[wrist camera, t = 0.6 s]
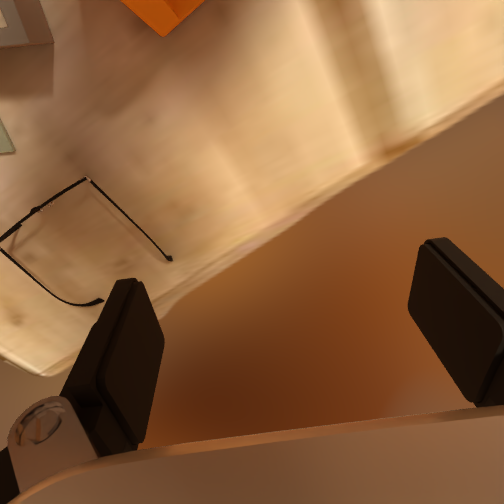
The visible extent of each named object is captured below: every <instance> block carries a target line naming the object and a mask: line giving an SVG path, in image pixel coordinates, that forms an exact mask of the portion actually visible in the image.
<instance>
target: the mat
mask: <svg viewBox="0 0 504 504" xmlns="http://www.w3.org/2000/svg"><path fill="white" fill-rule="evenodd" d="M14 151H16V150H15V148H14V146H13V144H12V142H11V140H10V138H9V136H8V134H7V132H6V130H5V128H4V126H3V124H2V121H1V119H0V153H5V152H14Z"/></svg>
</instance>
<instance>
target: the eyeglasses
mask: <svg viewBox="0 0 504 504" xmlns="http://www.w3.org/2000/svg"><path fill="white" fill-rule="evenodd" d="M87 179H88V181H89V182H90V183H91V184H92V185H93V186H94V187H95V188H97V189H98V190H99V191H100V192H101V193H102V194H103V195H104V196H105V197H106V198H107V199H108V200H109V201H110V202H111V203H112V204H113V205H114V206H115V207H117V208H118V209H119V210H120V211H121V212H122V213H123V214H124V215H125V216H126V217H127V218H128V219H129V220H130V221H131V222H132V223H133V224H134V225H135V226H136V227H137V228H138V229H140V230H141V231H142V232H143V233H144V234H145V235H146V236H147V237H148V238H149V239H150V240H151V241H152V243H153V244H154V245H155V246H156V247H157V248H158V249H159V250H160V252H161V253H162V254H163V255H164V257H165V258H166V259H167V260H168V261H173V259H172V256H167V255H165V254H164V252H163V251H162V250H161V249H160V248H159V247H158V246H157V245H156V244H155V242H154V241H153V240H152V239H151V238H150V237H149V236H148V235H147V234H146V233H145V232H144V231H143V230H142V229H141V228H140V227H139V226H138V225H137V224H136V223H135V222H134V221H133V220H132V219H131V218H130V217H129V216H128V215H127V214H126V213H125V212H124V211H123V210H122V209H121V208H120V207H119V206H117V205H116V204H115V203H114V202H113V201H112V200H111V199H110V198H109V197H108V196H107V195H106V194H105V193H104V192H103V191H102V190H101V189H100V188H99V187H98V186H97V185H96V184H95V183H94V182H93V181H92V180H91V179H89V178H88V177H87V176H84V177H83V178H81V179H80V180H79V181H77V182H76V183H74V184H72V185H71V186H69V187H67V188H66V189H64V190H63V191H61V192H59V193H58V194H56V195H55V196H53V197H52V198H50V199H49V200H47V201H46V202H44V203H43V204H42V205H40V206H37V207H34V208H32V209H31V211H30V213H29V214H28V215H27V216H25V217H24V218H23V219H21V220H20V221H19V222H17V223H16V224H15V225H14V226H13V227H11V228H10V229H9V230H8V231H7V232H5V233H4V234H3V235H2V236H1V237H0V242H2V241H3V240H4V239H6V238H7V237H8V236H10V235H11V234H12V233H13V232H15V231H16V230H17V229H19V228H20V227H21V226H22V225H21V223H22V222H24V221H25V220H26V219H28V218H29V217H30V216H32V215H33V214H35V213H36V212H37V213H38V212H39V211H41V212H40V213H42V212H43V209H41V208H43V207H44V206H46V205H48V204H50V206H51V205H53V204H54V202H53V200H54V199H56V198H57V197H59V196H60V195H62V194H63V193H65V192H67V191H68V190H70V189H72V188H73V187H75V186H77V185H78V184H80V183H82V182H83V181H85V180H87ZM50 206H49V205H48V207H50ZM0 251H1V252H2V253H3V254H4V255H5V256H6V257H8V258H9V259H10V260H11V261H12V262H13V263H14V264H16V265H17V266H18V267H19V268H20V269H21V270H23V271H24V272H25V273H26V274H27V275H28V276H30V277H31V278H32V279H33V280H34V281H35V282H37V283H38V284H39V285H40V286H41V287H43V288H44V289H45V290H46V291H48V292H49V293H50V294H51V295H52V296H54V297H55V298H57V299H58V300H60V301H62V302H64V303H67V304H70V305H73V306H82V307H86V306H93V305H96V304H99V303H101V302H104V300H103V299H100V298H98V299H96V300H94V301H92V302H89V303H86V304H73V303H69V302H66V301H64V300H62V299H60V298H58V297H57V296H55V295H54V294H53V293H51V292H50V291H49V290H48V289H46V288H45V287H44V286H43V285H42V284H41V283H40V282H38V281H37V280H36V279H35V278H34V277H33V276H32V275H31V274H29V273H28V272H27V271H26V270H25V269H24V268H23V267H22V266H21V265H20V264H18V263H17V262H16V261H15V260H14V259H13V258H12V257H11V256H10V255H9V254H7V253H6V252H5V251H4V250H3V249H2V248H1V247H0Z"/></svg>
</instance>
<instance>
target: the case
mask: <svg viewBox="0 0 504 504" xmlns="http://www.w3.org/2000/svg"><path fill="white" fill-rule="evenodd" d="M0 9H1V11H2V13H3V16H4V18H5V21H6V23H7V25H8V27H4V28H0V49H1V48H10V47H20V46H29V45H38V44H47V43H54V40H53V37H52V34H51V32H50V29H49V26H48V23H47V20H46V18H45V15H44V12H43V9H42V7H41V4H40V1H39V0H0Z"/></svg>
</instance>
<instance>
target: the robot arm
mask: <svg viewBox="0 0 504 504" xmlns="http://www.w3.org/2000/svg"><path fill="white" fill-rule="evenodd" d="M408 311H409V313H410V315H411V317H412V318H413V320H414V321H415V323H416V324H417V326H418V327H419V329H420V330H421V332H422V333H423V335H424V336H425V338H426V339H427V341H428V342H429V344H430V345H431V347H432V349H433V350H434V351H435V353H436V354H437V356H438V358H439V359H440V361H441V362H442V364H443V365H444V367H445V368H446V370H447V371H448V373H449V374H450V376H451V377H452V379H453V380H454V382H455V383H456V385H457V386H458V388H459V389H460V391H461V392H462V394H463V395H464V397H465V398H466V399H467V400H468V401H469V402H473V403H474V404H475V406H476V407H477V408H469V409H460V410H451V411H443V412H434V413H426V414H417V415H409V416H401V417H392V418H383V419H375V420H367V421H359V422H350V423H342V424H334V425H326V426H318V427H310V428H303V429H293V430H285V431H277V432H270V433H262V434H254V435H246V436H238V437H230V438H223V439H215V440H207V441H199V442H191V443H184V444H178V445H170V446H164V447H157V448H150V449H143V450H137V448H138V444H139V443H142V442H143V441H144V439H145V435H146V429H147V425H148V420H149V415H150V411H151V406H152V402H153V397H154V392H155V387H156V383H157V378H158V373H159V368H160V364H161V359H162V354H163V349H164V335H163V333H162V330H161V327H160V325H159V322H158V320H157V317H156V315H155V312H154V309H153V307H152V304H151V302H150V299H149V297H148V294H147V291H146V289H145V286H144V284H143V282H142V281H139V282H138V281H137V279H136V278H128V279H121V280H117V281H116V282H115V285H114V287H113V289H112V291H111V293H110V295H109V297H108V299H107V302H106V304H105V306H104V308H103V310H102V312H101V314H100V317H99V319H98V321H97V322H96V323H95V324H94V325H93V326H92V328H91V330H90V332H89V334H88V336H87V338H86V341H85V343H84V345H83V347H82V349H81V351H80V353H79V355H78V357H77V359H76V361H75V364H74V366H73V368H72V370H71V372H70V374H69V376H68V379H67V380H66V382H65V385H64V387H63V389H62V391H61V393H60V395H59V396H52V397H48V398H45V399H42V400H40V401H38V402H36V403H34V404H33V405H32V406H30V407H29V408H28V409H26V410H25V411H24V412H23V413H22V414H21V415H20V416H19V417H18V418H17V419H16V421H15V422H14V424H13V425H12V427H11V429H10V431H9V434H8V437H7V447H6V448H4V449H3V450H2V451H0V504H504V289H503V288H502V287H501V286H500V285H499V284H498V283H496V282H495V281H494V280H493V279H492V278H491V277H490V276H489V275H487V273H486V272H484V271H483V270H482V269H481V268H480V267H479V266H478V265H477V264H476V263H474V262H473V261H472V260H471V259H470V258H469V257H468V256H467V255H466V254H464V253H463V252H462V251H461V250H460V249H459V248H458V247H457V246H456V245H455V244H453V243H452V242H451V241H450V240H449V239H448V238H445V237H443V238H435V239H428V240H426V241H425V242H424V244H423V245H421V246H420V247H419V251H418V257H417V261H416V266H415V271H414V276H413V281H412V286H411V291H410V296H409V301H408Z"/></svg>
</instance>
